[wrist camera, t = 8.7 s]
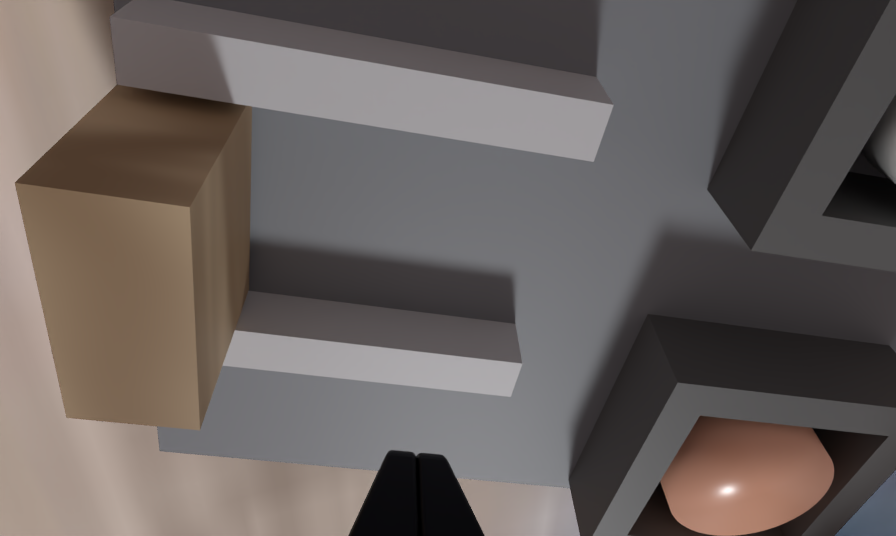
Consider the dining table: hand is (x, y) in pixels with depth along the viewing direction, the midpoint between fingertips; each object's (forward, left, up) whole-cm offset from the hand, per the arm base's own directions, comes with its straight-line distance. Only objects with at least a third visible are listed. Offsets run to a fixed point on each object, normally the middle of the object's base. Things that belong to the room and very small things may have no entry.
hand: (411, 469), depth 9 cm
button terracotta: (-10, +6, -7) cm, 14 cm away
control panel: (-4, 0, -9) cm, 10 cm away
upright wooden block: (+5, 0, -7) cm, 8 cm away
